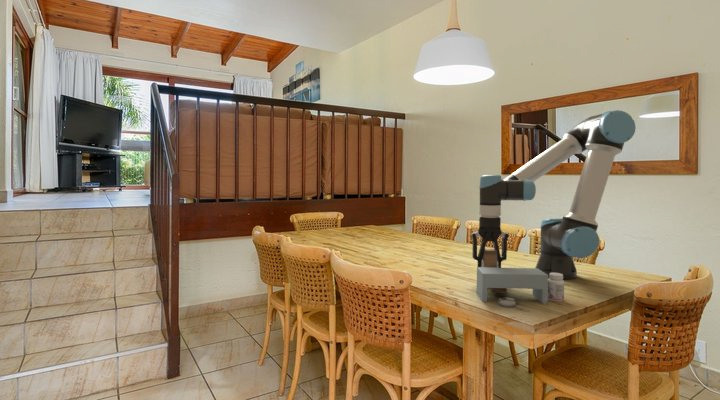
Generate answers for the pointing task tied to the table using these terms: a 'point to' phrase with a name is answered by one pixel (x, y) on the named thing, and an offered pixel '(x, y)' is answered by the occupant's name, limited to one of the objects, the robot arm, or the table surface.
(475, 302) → the table surface
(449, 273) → the table surface
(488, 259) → the brown angled block
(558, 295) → the pill bottle
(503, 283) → the bench
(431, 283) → the table surface
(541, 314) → the table surface
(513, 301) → the steel puck
